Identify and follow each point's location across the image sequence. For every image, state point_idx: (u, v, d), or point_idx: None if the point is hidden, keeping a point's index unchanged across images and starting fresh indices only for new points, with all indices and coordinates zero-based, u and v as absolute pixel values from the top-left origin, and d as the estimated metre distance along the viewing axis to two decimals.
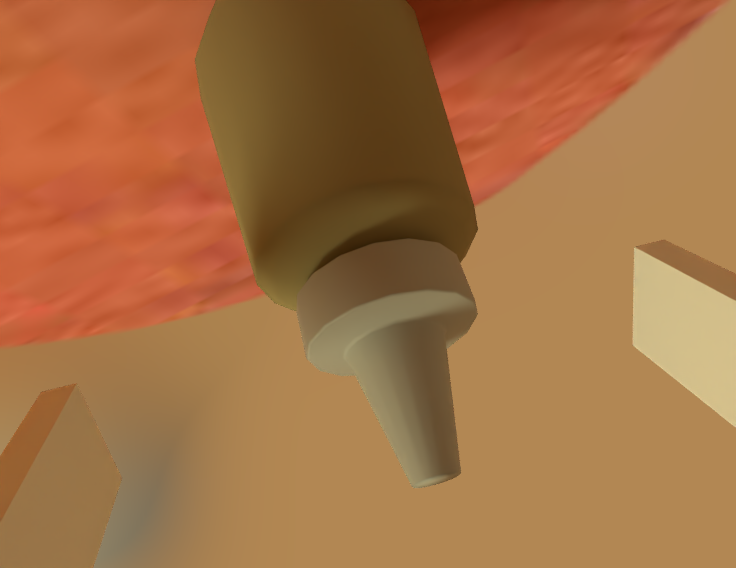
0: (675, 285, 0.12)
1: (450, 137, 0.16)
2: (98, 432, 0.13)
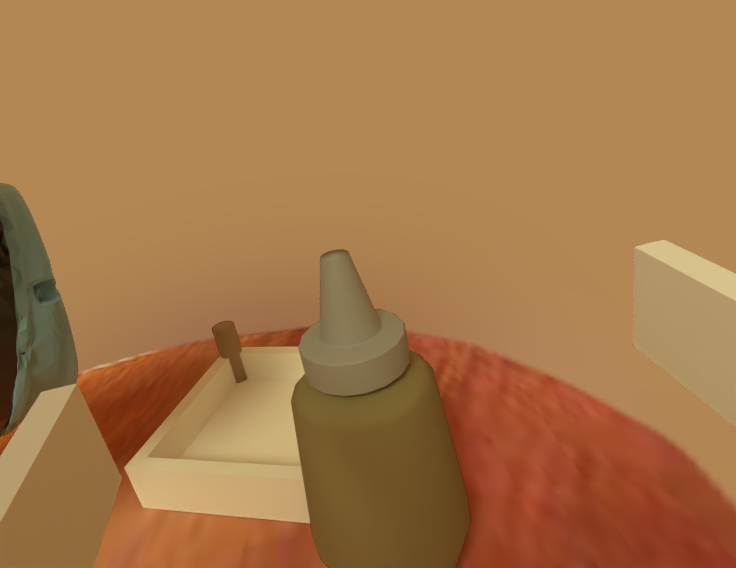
0: (676, 285, 0.12)
1: None
2: (97, 432, 0.13)
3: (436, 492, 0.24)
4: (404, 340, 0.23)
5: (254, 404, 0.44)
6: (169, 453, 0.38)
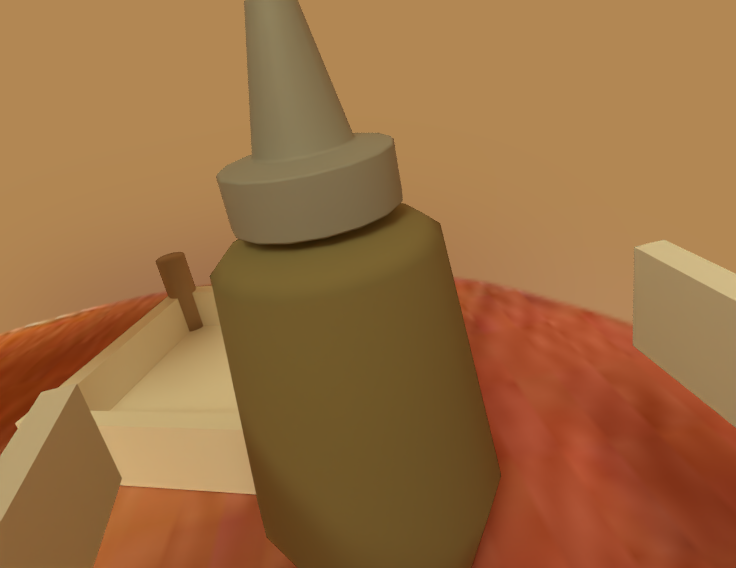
0: (676, 285, 0.12)
1: None
2: (98, 432, 0.13)
3: (448, 419, 0.15)
4: (393, 156, 0.14)
5: (207, 353, 0.34)
6: None
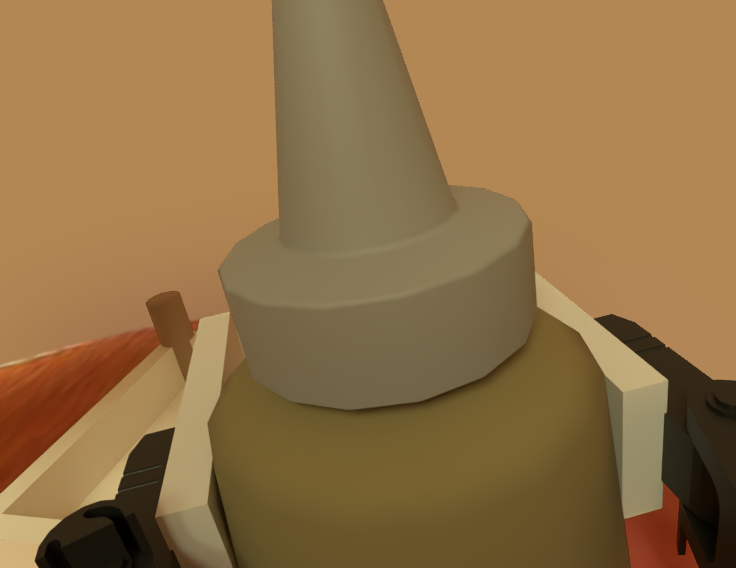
0: None
1: None
2: (242, 356, 0.15)
3: None
4: (531, 240, 0.08)
5: None
6: (54, 502, 0.23)
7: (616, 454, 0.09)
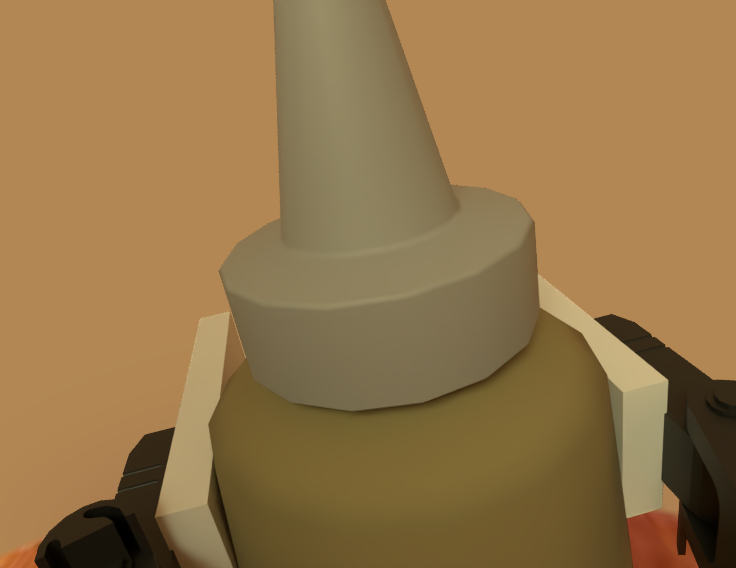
0: None
1: None
2: (242, 356, 0.15)
3: None
4: (534, 240, 0.08)
5: None
6: None
7: None
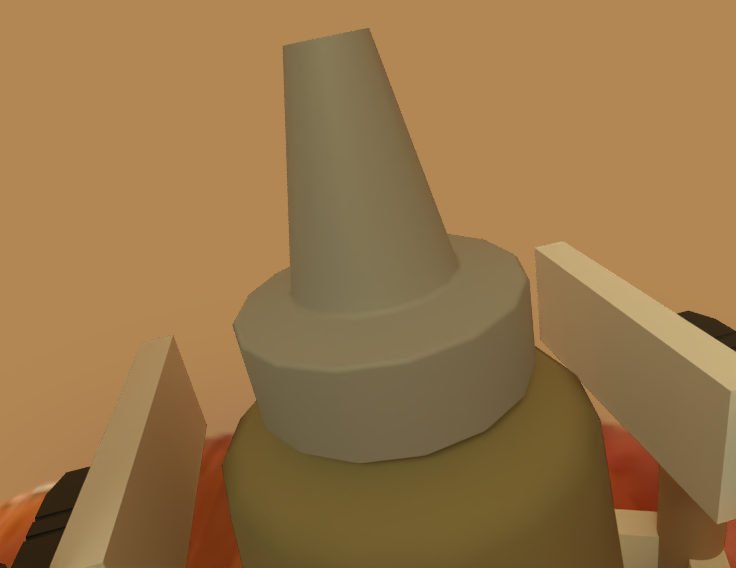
0: (564, 283, 0.13)
1: None
2: (188, 381, 0.14)
3: None
4: (529, 298, 0.08)
5: None
6: None
7: (715, 456, 0.09)
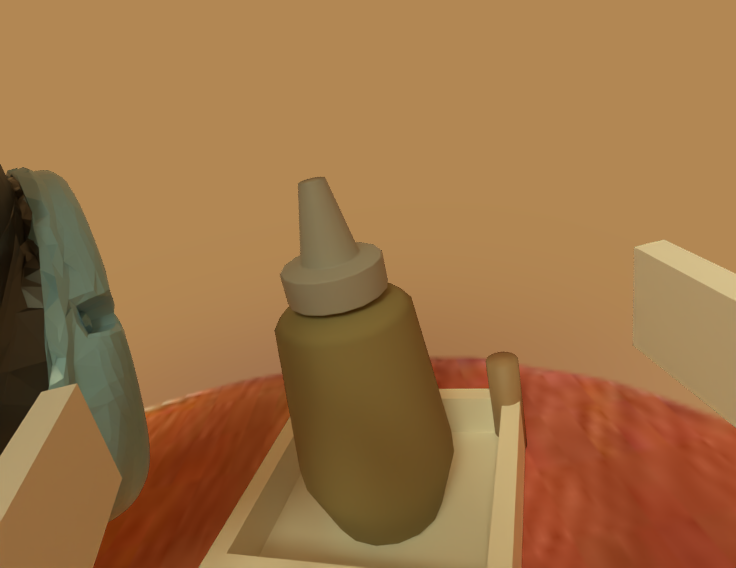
0: (676, 285, 0.12)
1: None
2: (97, 432, 0.13)
3: (416, 414, 0.25)
4: (381, 264, 0.24)
5: None
6: (252, 542, 0.28)
7: None
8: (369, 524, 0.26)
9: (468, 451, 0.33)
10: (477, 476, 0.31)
